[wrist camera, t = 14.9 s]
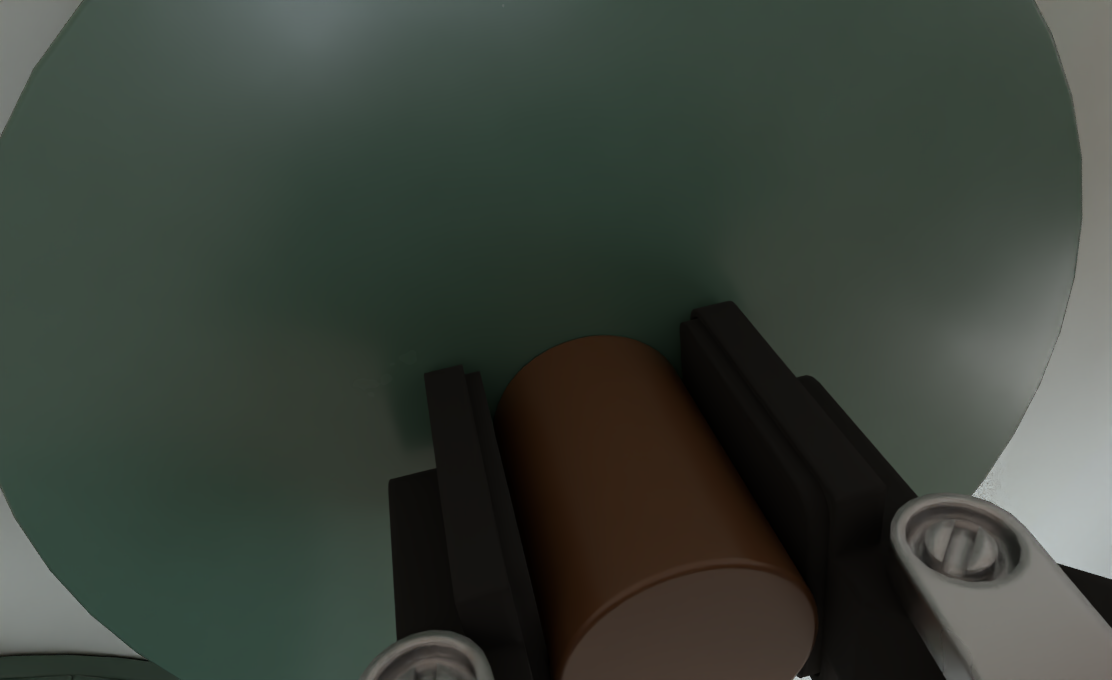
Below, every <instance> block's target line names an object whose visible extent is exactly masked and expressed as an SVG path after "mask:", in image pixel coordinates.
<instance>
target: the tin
mask: <svg viewBox="0 0 1112 680" xmlns="http://www.w3.org/2000/svg"><path fill="white" fill-rule="evenodd" d="M0 680H180V679H178V678H176V677H175V676H173V675H172V674H170V673H168V672H167V671H165V670H164V669H162V668H160V667H159V666H157V665H156V664H154V663H152V662H149V661H141V660H134V659H127V658H116V657H98V656H81V655H35V656H6V657H0Z"/></svg>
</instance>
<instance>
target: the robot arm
mask: <svg viewBox="0 0 1112 680" xmlns="http://www.w3.org/2000/svg"><path fill="white" fill-rule="evenodd" d="M680 346H681V361H682V375H683V384H684V385H685V387H686V388H687V390H688V392H689V393H690V395H691V397H692V398H693V400H694V402H695V403H696V405H697V406H698V408H699V410H700V411H701V413H702V415H703V416H704V418H705V419H706V421H707V423H708V424H709V426H710V428H711V429H712V431H713V433H714V434H715V436H716V437H717V439H718V441H719V442H720V444H721V446H722V447H723V449H724V450H725V452H726V454H727V455H728V457H729V459H730V460H731V462H732V464H733V465H734V467H735V468H736V470H737V472H738V473H739V475H740V477H741V478H742V480H743V481H744V483H745V485H746V486H747V488H748V490H749V491H750V493H751V494H752V496H753V498H754V499H755V501H756V503H757V504H758V506H759V508H760V509H761V511H762V512H763V514H764V516H765V517H766V519H767V521H768V522H769V524H770V525H771V527H772V529H773V530H774V532H775V534H776V535H777V537H778V539H779V540H780V542H781V543H782V545H783V547H784V548H785V550H786V552H787V553H788V555H789V556H790V558H791V560H792V561H793V563H794V565H795V566H796V568H797V570H798V571H799V573H800V574H801V576H802V578H803V579H804V581H805V583H806V584H807V586H808V588H809V589H810V591H811V593H812V594H813V596H814V599H815V602H816V605H817V613H818V632H817V637H816V640H815V644H814V647H813V649H812V651H811V653H810V656H809V657H808V659H807V661H806V662H805V664H804V666H803V667H802V669H801V670H800V671H799V673H798V674H797V675H796V676H797V677H799V678H802V677H806V676H809V675H810V677H811V679H812V680H1112V579H1108V578H1105V577H1101V576H1098V575H1095V574H1091V573H1088V572H1085V571H1081V570H1078V569H1075V568H1071V567H1068V566H1064V565H1061V564H1058V563H1056V562H1055V561H1054V560H1053V559H1052V557H1051V556H1050V555H1049V554H1048V553H1047V551H1046V550H1045V549H1044V548H1043V547H1042V546H1041V544H1040V543H1039V542H1038V541H1037V540H1036V538H1035V537H1034V536H1033V535H1032V534H1031V533H1030V531H1029V530H1028V529H1027V528H1026V527H1025V526H1024V525H1023V524H1022V523H1021V522H1020V521H1019V520H1017V519H1016V518H1015V517H1014V516H1013V515H1012V514H1011V513H1009V512H1007V511H1006V510H1004V509H1002V508H1000V507H999V506H997V505H995V504H993V503H991V502H989V501H986V500H983V499H980V498H976V497H973V496H970V495H964V494H956V493H948V492H947V493H934V494H926V495H923V496H920V497H918V496H917V495H916V493H915V492H914V491H913V490H912V489H911V488H910V487H909V485H908V484H907V483H906V482H905V481H904V480H903V478H902V477H901V476H900V475H899V474H898V473H897V471H896V470H895V469H894V468H893V467H892V466H891V464H890V463H889V462H888V461H887V460H886V459H885V458H884V456H883V455H882V454H881V453H880V452H879V451H878V449H877V448H876V447H875V446H874V445H873V444H872V442H871V441H870V440H869V439H868V438H867V437H866V436H865V434H864V433H863V432H862V431H861V430H860V429H859V427H858V426H857V425H856V424H855V423H854V422H853V420H852V419H851V418H850V417H849V416H848V415H847V414H846V412H845V411H844V410H843V409H842V408H841V407H840V405H839V404H838V403H837V402H836V401H835V400H834V398H833V397H832V396H831V395H830V394H829V393H828V392H827V390H826V389H825V388H824V387H823V386H822V385H821V383H820V382H818V381H817V380H816V379H815V378H814V377H812V376H809V375H804V376H800V377H796V376H795V375H794V374H793V373H792V372H791V370H790V369H789V368H788V367H787V365H786V364H785V363H784V362H783V361H782V359H781V358H780V357H779V356H778V355H777V353H776V352H775V351H774V350H773V349H772V347H771V346H770V345H769V344H768V343H767V341H766V340H765V339H764V338H763V337H762V335H761V334H760V333H759V332H758V330H757V329H756V328H755V327H754V326H753V324H752V323H751V322H750V321H749V320H748V318H747V317H746V316H745V315H744V314H743V312H742V311H741V310H740V309H739V308H738V306H737V305H736V304H735V303H734V302H733V301H725V302H721V303H717V304H713V305H709V306H704V307H700V308H696V309H693V310H692V311H691V316H690V320H689V321H685V322H682V323H681V324H680ZM424 381H425V388H426V396H427V403H428V410H429V418H430V425H431V432H432V440H433V447H434V454H435V462H436V468H434V469H430V470H426V471H422V472H418V473H414V474H410V475H406V476H402V477H398V478H394V479H390V480H389V483H388V496H389V514H390V531H391V549H392V566H393V584H394V601H395V619H396V636H397V641H396V642H394V643H392V644H391V645H389V646H388V647H387V648H386V649H384V650H383V651H382V652H381V653H380V654H378V655H377V656H376V657H375V658H374V659H373V660H372V661H371V663H370V664H369V665H368V667H367V668H366V669H365V671H364V672H363V673H362V674H361V676H360V678H359V680H551V675H550V660H549V656H548V652H547V648H546V643H545V639H544V635H543V630H542V626H541V622H540V618H539V613H538V609H537V605H536V601H535V596H534V592H533V588H532V584H531V580H530V575H529V571H528V567H527V563H526V559H525V555H524V551H523V546H522V542H521V538H520V534H519V530H518V526H517V522H516V518H515V514H514V509H513V505H512V501H511V497H510V493H509V489H508V485H507V481H506V477H505V472H504V468H503V464H502V460H501V456H500V452H499V448H498V444H497V440H496V435H495V431H494V427H493V423H492V419H491V415H490V411H489V407H488V403H487V398H486V394H485V390H484V386H483V382H482V378H481V374H480V371H477V372H473V373H468V374H465V373H464V369H463V365H462V364H461V365H457V366H453V367H449V368H445V369H440V370H436V371H432V372H428V373H424Z"/></svg>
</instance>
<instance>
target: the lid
mask: <svg viewBox="0 0 1112 680" xmlns="http://www.w3.org/2000/svg"><path fill="white" fill-rule="evenodd" d="M1081 225H1082V156H1081V149H1080V143H1079V137H1078V130H1077V124H1076V117H1075V111H1074V105H1073V98H1072V94H1071V91H1070V88H1069V85H1068V82H1067V79H1066V76H1065V73H1064V69H1063V66H1062V63H1061V60H1060V57H1059V54H1058V51H1057V48H1056V45H1055V42H1054V39H1053V36H1052V33H1051V31H1050V29H1049V27H1048V25H1047V23H1046V22H1045V20H1044V18H1043V16H1042V14H1041V12H1040V10H1039V8H1038V6H1037V4H1036V3H1035V1H1034V0H83V1H82V2H81V4H80V5H79V6H78V8H77V9H76V10H75V12H74V13H73V15H72V16H71V17H70V19H69V20H68V22H67V23H66V24H65V26H64V27H63V29H62V30H61V31H60V33H59V34H58V35H57V37H56V38H55V40H54V41H53V42H52V44H51V45H50V47H49V48H48V49H47V51H46V52H45V54H44V55H43V56H42V58H41V59H40V60H39V62H38V63H37V65H36V66H35V67H34V69H33V71H32V73H31V75H30V77H29V79H28V81H27V83H26V85H25V87H24V89H23V91H22V93H21V95H20V97H19V99H18V101H17V104H16V106H15V108H14V110H13V112H12V114H11V116H10V118H9V120H8V122H7V124H6V126H5V128H4V130H3V132H2V134H1V137H0V488H1V490H2V492H3V494H4V496H5V499H6V501H7V503H8V505H9V507H10V509H11V512H12V514H13V516H14V518H15V519H16V521H17V522H18V524H19V525H20V527H21V528H22V530H23V531H24V533H25V534H26V536H27V537H28V539H29V540H30V542H31V543H32V545H33V546H34V548H35V549H36V551H37V552H38V554H39V555H40V557H41V558H42V560H43V561H44V563H45V564H46V565H47V567H48V568H49V570H50V571H51V572H52V573H53V574H54V575H55V577H56V578H57V579H58V580H59V581H60V582H61V583H62V584H63V585H64V586H65V587H66V589H67V590H68V591H69V592H70V593H71V594H72V595H73V596H74V597H75V598H76V599H77V600H78V602H79V603H80V604H81V605H82V606H83V607H84V608H85V609H86V610H87V611H88V612H89V613H90V615H91V616H93V617H94V618H95V619H96V620H98V621H99V622H100V623H101V624H102V625H104V626H105V627H106V628H107V629H108V630H110V631H111V632H112V633H113V634H115V635H116V636H117V637H118V638H119V639H121V640H122V641H123V642H124V643H126V644H127V645H128V646H129V647H130V648H132V649H133V650H134V651H135V652H136V653H138V654H140V655H141V656H143V657H144V658H146V659H148V660H149V661H151V662H152V663H154V664H156V665H157V666H159V667H160V668H162V669H164V670H165V671H167V672H168V673H170V674H172V675H173V676H175V677H176V678H178V679H180V680H359V678H360V676H361V674H362V673H363V672H364V671H365V669H366V668H367V667H368V665H369V664H370V663H371V661H372V660H373V659H374V658H375V657H376V656H377V655H378V654H380V653H381V652H382V651H383V650H384V649H386V648H387V647H388V646H389V645H391V644H392V643H394V642H396V641H397V636H396V619H395V601H394V584H393V566H392V549H391V531H390V514H389V496H388V483H389V480H390V479H394V478H398V477H402V476H406V475H410V474H414V473H418V472H422V471H426V470H430V469H434V468H436V462H435V454H434V447H433V440H432V432H431V425H430V418H429V410H428V403H427V396H426V388H425V381H424V373H428V372H432V371H436V370H440V369H445V368H449V367H453V366H457V365H461V364H462V365H463V369H464V373H465V374H468V373H473V372H477V371H480V374H481V378H482V382H483V386H484V390H485V394H486V398H487V403H488V407H489V411H490V415H491V419H492V423H493V427H494V431H495V435H496V440H497V444H498V448H499V452H500V456H501V460H502V464H503V468H504V472H505V477H506V481H507V485H508V489H509V493H510V497H511V501H512V505H513V509H514V514H515V518H516V522H517V526H518V530H519V534H520V538H521V542H522V546H523V551H524V555H525V559H526V563H527V567H528V571H529V575H530V580H531V584H532V588H533V592H534V596H535V601H536V605H537V609H538V613H539V618H540V622H541V626H542V630H543V635H544V639H545V643H546V648H547V652H548V656H549V660H550V675H551V680H793V679H794V678H795V676H796V675H797V674H798V673H799V671H800V670H801V669H802V667H803V666H804V664H805V662H806V661H807V659H808V657H809V656H810V653H811V651H812V649H813V647H814V644H815V640H816V637H817V632H818V613H817V605H816V602H815V599H814V596H813V594H812V593H811V591H810V589H809V588H808V586H807V584H806V583H805V581H804V579H803V578H802V576H801V574H800V573H799V571H798V570H797V568H796V566H795V565H794V563H793V561H792V560H791V558H790V556H789V555H788V553H787V552H786V550H785V548H784V547H783V545H782V543H781V542H780V540H779V539H778V537H777V535H776V534H775V532H774V530H773V529H772V527H771V525H770V524H769V522H768V521H767V519H766V517H765V516H764V514H763V512H762V511H761V509H760V508H759V506H758V504H757V503H756V501H755V499H754V498H753V496H752V494H751V493H750V491H749V490H748V488H747V486H746V485H745V483H744V481H743V480H742V478H741V477H740V475H739V473H738V472H737V470H736V468H735V467H734V465H733V464H732V462H731V460H730V459H729V457H728V455H727V454H726V452H725V450H724V449H723V447H722V446H721V444H720V442H719V441H718V439H717V437H716V436H715V434H714V433H713V431H712V429H711V428H710V426H709V424H708V423H707V421H706V419H705V418H704V416H703V415H702V413H701V411H700V410H699V408H698V406H697V405H696V403H695V402H694V400H693V398H692V397H691V395H690V393H689V392H688V390H687V388H686V387H685V385H684V384H683V375H682V361H681V346H680V324H681V323H682V322H685V321H689V320H690V316H691V311H692V310H693V309H696V308H700V307H704V306H709V305H713V304H717V303H721V302H725V301H733V302H734V303H735V304H736V305H737V306H738V308H739V309H740V310H741V311H742V312H743V314H744V315H745V316H746V317H747V318H748V320H749V321H750V322H751V323H752V324H753V326H754V327H755V328H756V329H757V330H758V332H759V333H760V334H761V335H762V337H763V338H764V339H765V340H766V341H767V343H768V344H769V345H770V346H771V347H772V349H773V350H774V351H775V352H776V353H777V355H778V356H779V357H780V358H781V359H782V361H783V362H784V363H785V364H786V365H787V367H788V368H789V369H790V370H791V372H792V373H793V374H794V375H795V376H796V377H800V376H804V375H809V376H812V377H814V378H815V379H816V380H817V381H818V382H820V383H821V385H822V386H823V387H824V388H825V389H826V390H827V392H828V393H829V394H830V395H831V396H832V397H833V398H834V400H835V401H836V402H837V403H838V404H839V405H840V407H841V408H842V409H843V410H844V411H845V412H846V414H847V415H848V416H849V417H850V418H851V419H852V420H853V422H854V423H855V424H856V425H857V426H858V427H859V429H860V430H861V431H862V432H863V433H864V434H865V436H866V437H867V438H868V439H869V440H870V441H871V442H872V444H873V445H874V446H875V447H876V448H877V449H878V451H879V452H880V453H881V454H882V455H883V456H884V458H885V459H886V460H887V461H888V462H889V463H890V464H891V466H892V467H893V468H894V469H895V470H896V471H897V473H898V474H899V475H900V476H901V477H902V478H903V480H904V481H905V482H906V483H907V484H908V485H909V487H910V488H911V489H912V490H913V491H914V492H915V493H916V495H917V496H918V497H920V496H923V495H926V494H934V493H947V492H948V493H956V494H964V495H970V496H972V494H973V493H974V492H975V491H976V489H977V488H978V487H979V486H980V484H981V483H982V482H983V481H984V479H985V478H986V476H987V475H988V473H989V472H990V470H991V469H992V467H993V466H994V464H995V463H996V461H997V459H998V458H999V456H1000V455H1001V453H1002V452H1003V450H1004V449H1005V447H1006V446H1007V444H1008V443H1009V441H1010V440H1011V438H1012V437H1013V435H1014V433H1015V431H1016V430H1017V428H1018V426H1019V424H1020V422H1021V420H1022V418H1023V416H1024V414H1025V412H1026V410H1027V408H1028V406H1029V405H1030V403H1031V401H1032V399H1033V397H1034V395H1035V393H1036V391H1037V389H1038V387H1039V385H1040V383H1041V380H1042V378H1043V375H1044V373H1045V370H1046V367H1047V365H1048V362H1049V360H1050V357H1051V355H1052V352H1053V350H1054V347H1055V344H1056V342H1057V339H1058V337H1059V334H1060V331H1061V327H1062V323H1063V320H1064V316H1065V312H1066V308H1067V304H1068V301H1069V297H1070V293H1071V289H1072V285H1073V281H1074V278H1075V270H1076V263H1077V255H1078V248H1079V240H1080V232H1081Z"/></svg>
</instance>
